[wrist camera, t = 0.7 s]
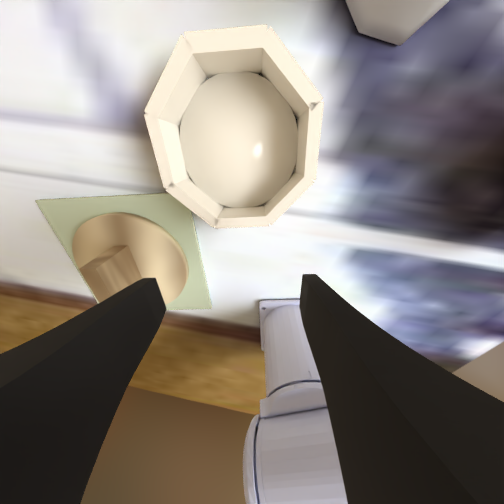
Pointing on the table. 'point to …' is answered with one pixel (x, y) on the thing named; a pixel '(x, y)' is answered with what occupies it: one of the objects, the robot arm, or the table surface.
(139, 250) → the lid
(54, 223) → the mat
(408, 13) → the flask
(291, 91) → the bowl
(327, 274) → the table surface
